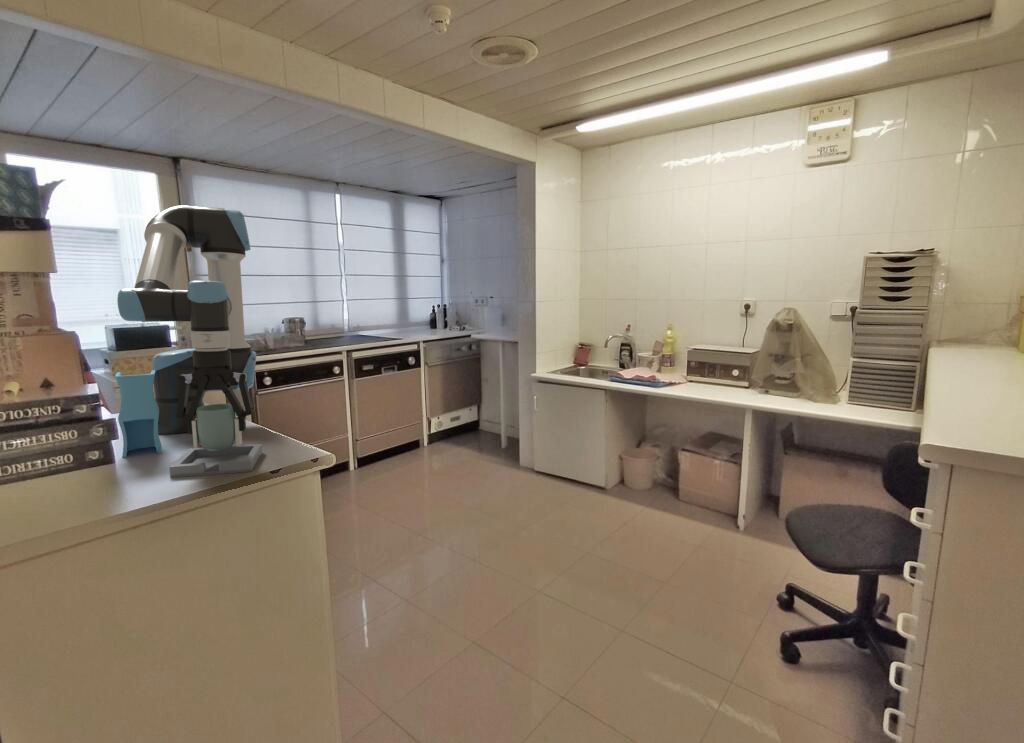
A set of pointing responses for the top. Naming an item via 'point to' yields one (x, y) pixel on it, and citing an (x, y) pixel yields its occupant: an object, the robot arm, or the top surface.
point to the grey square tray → (216, 461)
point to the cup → (216, 426)
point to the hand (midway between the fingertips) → (218, 445)
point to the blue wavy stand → (138, 412)
